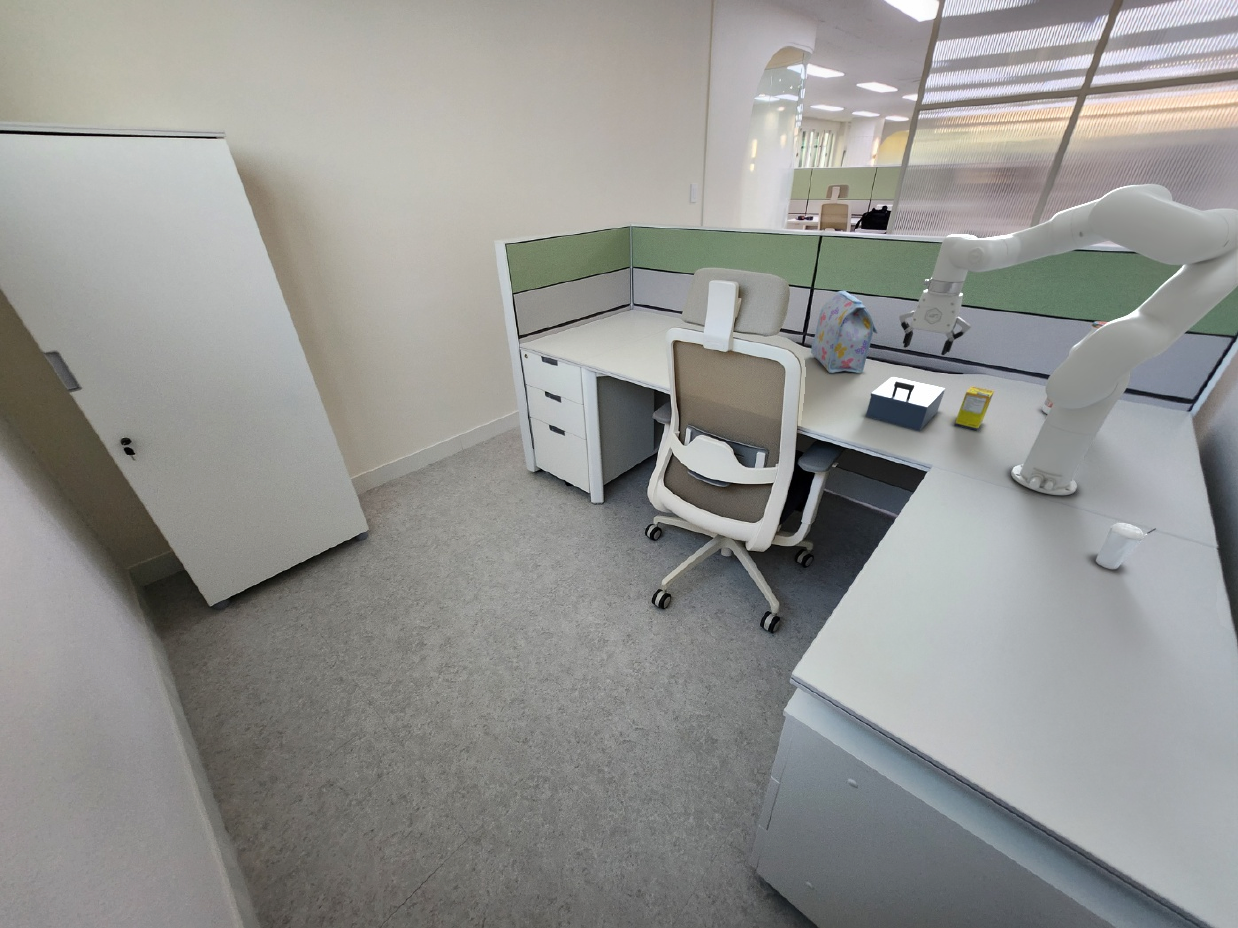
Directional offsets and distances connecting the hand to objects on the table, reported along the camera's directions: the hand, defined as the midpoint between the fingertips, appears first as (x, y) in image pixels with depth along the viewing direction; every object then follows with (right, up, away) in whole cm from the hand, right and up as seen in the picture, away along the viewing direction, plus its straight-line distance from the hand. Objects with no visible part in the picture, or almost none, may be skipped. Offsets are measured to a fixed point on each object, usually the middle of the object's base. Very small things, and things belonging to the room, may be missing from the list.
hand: (924, 350), depth 135 cm
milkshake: (+9, -52, -41) cm, 67 cm away
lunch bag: (+2, +8, +57) cm, 58 cm away
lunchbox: (+4, -16, +17) cm, 24 cm away
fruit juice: (+52, -17, +15) cm, 56 cm away
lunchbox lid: (+3, -10, +13) cm, 17 cm away
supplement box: (+19, -20, +10) cm, 30 cm away
